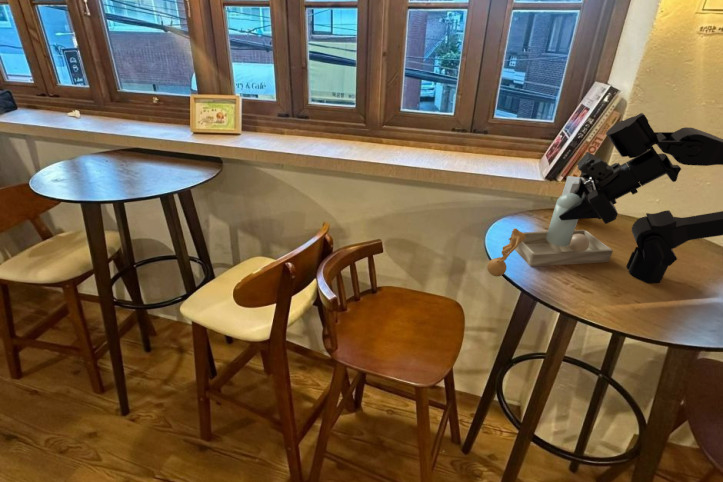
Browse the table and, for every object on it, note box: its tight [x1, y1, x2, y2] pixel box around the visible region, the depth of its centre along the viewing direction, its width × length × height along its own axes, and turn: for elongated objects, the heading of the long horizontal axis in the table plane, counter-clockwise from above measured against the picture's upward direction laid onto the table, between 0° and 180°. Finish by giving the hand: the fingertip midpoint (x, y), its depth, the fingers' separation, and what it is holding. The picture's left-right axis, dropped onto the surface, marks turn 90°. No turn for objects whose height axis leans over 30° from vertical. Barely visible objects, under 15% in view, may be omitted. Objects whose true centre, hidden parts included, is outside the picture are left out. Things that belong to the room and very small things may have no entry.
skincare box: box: [561, 175, 585, 196], centre depth 112 cm, size 6×4×12 cm
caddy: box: [508, 229, 614, 267], centre depth 96 cm, size 10×20×4 cm, turn 99°
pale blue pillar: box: [546, 193, 581, 246], centre depth 90 cm, size 5×5×12 cm
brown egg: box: [568, 234, 589, 251], centre depth 97 cm, size 5×5×5 cm
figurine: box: [486, 228, 526, 277], centre depth 86 cm, size 8×6×12 cm
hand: (559, 213), depth 90 cm, fingers closed on pale blue pillar, 5 cm apart
